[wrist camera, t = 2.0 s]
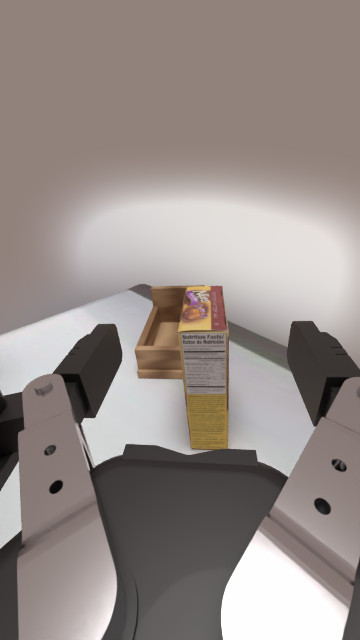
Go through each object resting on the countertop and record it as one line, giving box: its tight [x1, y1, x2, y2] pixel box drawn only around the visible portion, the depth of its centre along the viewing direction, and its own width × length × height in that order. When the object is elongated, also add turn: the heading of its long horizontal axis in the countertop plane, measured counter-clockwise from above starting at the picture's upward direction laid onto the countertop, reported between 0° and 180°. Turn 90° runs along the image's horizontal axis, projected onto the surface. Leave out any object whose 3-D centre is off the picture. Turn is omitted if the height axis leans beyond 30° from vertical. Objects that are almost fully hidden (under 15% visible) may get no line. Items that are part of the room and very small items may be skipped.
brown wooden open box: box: [135, 285, 204, 379], centre depth 42 cm, size 10×16×8 cm, turn 174°
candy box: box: [178, 286, 229, 450], centre depth 27 cm, size 9×4×15 cm, turn 174°
